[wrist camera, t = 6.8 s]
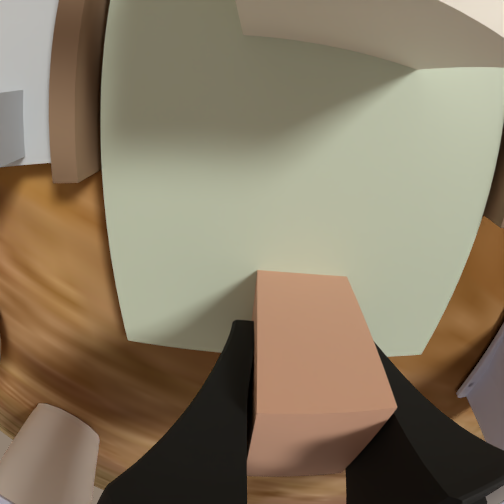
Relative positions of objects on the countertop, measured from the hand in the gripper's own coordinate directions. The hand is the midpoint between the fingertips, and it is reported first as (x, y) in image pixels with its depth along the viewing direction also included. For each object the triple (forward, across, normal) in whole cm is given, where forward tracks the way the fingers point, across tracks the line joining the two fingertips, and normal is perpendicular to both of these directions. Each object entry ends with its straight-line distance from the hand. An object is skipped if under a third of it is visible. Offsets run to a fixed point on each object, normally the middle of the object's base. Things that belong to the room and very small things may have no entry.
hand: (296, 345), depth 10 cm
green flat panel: (+2, 0, -8) cm, 8 cm away
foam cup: (+2, +16, +16) cm, 23 cm away
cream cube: (+1, 0, -12) cm, 12 cm away
